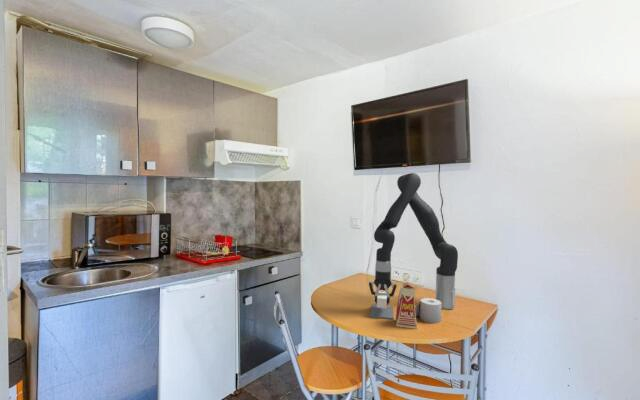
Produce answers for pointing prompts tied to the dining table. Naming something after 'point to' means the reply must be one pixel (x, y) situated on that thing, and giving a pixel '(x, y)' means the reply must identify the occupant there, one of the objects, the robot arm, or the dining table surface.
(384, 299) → the block
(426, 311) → the toilet tissue
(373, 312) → the mat
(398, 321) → the milk carton
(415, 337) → the dining table surface
